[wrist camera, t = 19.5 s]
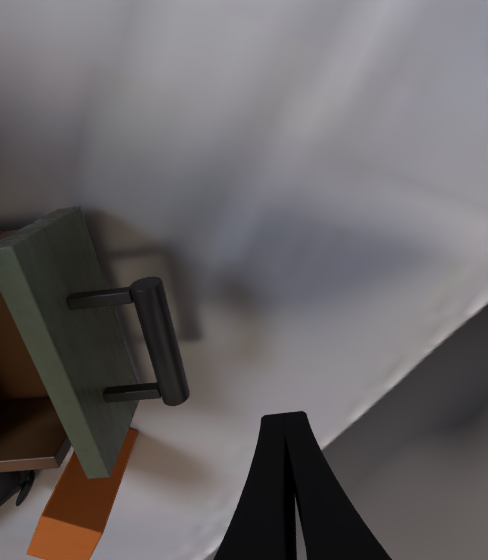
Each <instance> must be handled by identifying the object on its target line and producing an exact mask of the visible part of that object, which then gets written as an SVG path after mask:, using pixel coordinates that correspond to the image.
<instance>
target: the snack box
mask: <svg viewBox="0 0 488 560" xmlns="http://www.w3.org/2000/svg"><path fill="white" fill-rule="evenodd" d="M137 434H138V431H136V430H133V429H130V428H129V429H128V431H127V434H126V437H125V439H124V442H123V445H122V447H121V450H120V452H119V455H118V458H117V460H116V463H115V465H114V468H113V471H112V473H111V476H110V477H108V478H94V479H88V478H87V476H86V474H85V472H84V470H83V468H82V466H81V463H80V461H79V459H78V457H77V455H76V453H75V451H74V452H73V454H72V456H71V458H70V460H69V462H68V464H67V466H66V468H65V470H64V472H63V474H62V476H61V478H60V480H59V482H58V483H57V485H56V487H55V489H54V491H53V493H52V495H51V497H50V499H49V501H48V503H47V505H46V507H45V509H44V511H43V513H42V515H41V517H40V519H39V522H38V525H37V527H36V530H35V532H34V535H33V538H32V540H31V543H30V546H29V548H28V551H27V555H30V556H34V557H37V558H41V559H45V560H89V559H90V557H91V555H92V553H93V551H94V550H95V548H96V546H97V544H98V542H99V540H100V538H101V536H102V534H103V532H104V529H105V526H106V523H107V520H108V517H109V515H110V512H111V509H112V506H113V503H114V500H115V497H116V494H117V492H118V489H119V486H120V483H121V480H122V477H123V474H124V472H125V469H126V466H127V463H128V460H129V457H130V454H131V451H132V449H133V446H134V443H135V440H136V437H137Z"/></svg>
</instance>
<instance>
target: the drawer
mask: <svg viewBox="0 0 488 560" xmlns="http://www.w3.org/2000/svg"><path fill="white" fill-rule="evenodd" d="M133 302H134V304H135V308H136V311H137V315H138V318H139V321H140V325H141V328H142V332H143V335H144V338H145V342H146V345H147V349H148V352H149V355H150V359H151V362H152V366H153V369H154V372H155V376H156V379H157V382H155V383H144V384H138V383H137V380H136V377H135V374H134V371H133V368H132V365H131V362H130V359H129V356H128V352H127V349H126V346H125V343H124V340H123V337H122V334H121V331H120V328H119V325H118V322H117V319H116V315H115V312H114V309H113V306H112V305H122V304H131V303H133ZM189 395H190V391H189V387H188V383H187V379H186V375H185V371H184V367H183V363H182V359H181V355H180V351H179V347H178V343H177V339H176V335H175V331H174V327H173V323H172V319H171V315H170V311H169V307H168V303H167V299H166V295H165V291H164V287H163V283H162V280H161V278H159V277H146V278H142V279H139V280H137V281H135V282H133V283H132V284H131V285H130V287H124V288H115V289H107V288H106V285H105V281H104V278H103V275H102V272H101V269H100V266H99V263H98V260H97V257H96V254H95V251H94V248H93V244H92V241H91V238H90V235H89V232H88V229H87V226H86V223H85V220H84V217H83V214H82V211H81V207H72V208H64V209H58V210H56V211H54V212H52V213H50V214H48V215H46V216H45V217H43V218H41V219H39V220H37V221H35V222H33V223H31V224H30V225H28V226H26V227H24V228H22V229H19V230H11V231H3V232H0V472H10V471H23V470H37V469H50V468H59V467H60V466H61V464H62V462H63V460H64V458H65V456H66V455H67V453H68V451H69V449H70V447H71V445H72V446H73V448H74V451H75V453H76V455H77V457H78V459H79V461H80V463H81V466H82V468H83V470H84V472H85V474H86V476H87V478H88V479H94V478H108V477H110V476H111V473H112V471H113V468H114V465H115V463H116V460H117V458H118V455H119V452H120V450H121V447H122V445H123V442H124V439H125V437H126V434H127V431H128V429H129V426H130V424H131V421H132V418H133V416H134V413H135V410H136V408H137V405H138V403H139V400H145V399H156V398H161V396H162V400H163V402H164V403H165V404H166V405H169V406H176V405H180V404H182V403H183V402H185V401H186V400H187V399H188V397H189Z"/></svg>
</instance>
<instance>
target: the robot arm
mask: <svg viewBox="0 0 488 560" xmlns="http://www.w3.org/2000/svg"><path fill="white" fill-rule="evenodd" d="M295 497H296V502H297V507H298V512H299V517H300V522H301V527H302V532H303V537H304V541H305V546H306V553H307V560H392V559H391V558H390V557H389V555H388V554H387V553H386V551H385V550H384V549H383V547H382V546H381V545H380V543H379V542H378V541H377V539H376V538H375V537H374V535H373V534H372V532H371V531H370V530H369V528H368V527H367V525H366V524H365V523H364V521H363V520H362V518H361V517H360V515H359V514H358V513H357V511H356V509H355V508H354V506H353V505H352V503H351V502H350V500H349V499H348V497H347V496H346V494H345V492H344V491H343V489H342V487H341V486H340V484H339V482H338V481H337V479H336V477H335V476H334V474H333V472H332V470H331V468H330V466H329V465H328V463H327V461H326V459H325V457H324V456H323V454H322V452H321V450H320V447H319V445H318V443H317V441H316V439H315V437H314V434H313V432H312V429H311V427H310V424H309V421H308V418H307V414H306V413H305V412H303V411H299V412H289V413H280V414H271V415H264V416H263V417H262V418H261V426H260V432H259V437H258V441H257V446H256V450H255V454H254V457H253V461H252V464H251V467H250V471H249V474H248V477H247V480H246V483H245V486H244V489H243V491H242V494H241V497H240V500H239V502H238V505H237V508H236V510H235V513H234V515H233V518H232V520H231V523H230V525H229V527H228V530H227V532H226V534H225V536H224V539H223V541H222V543H221V545H220V547H219V549H218V551H217V553H216V555H215V557H214V560H297V552H296V521H295Z"/></svg>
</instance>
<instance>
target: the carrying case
mask: <svg viewBox="0 0 488 560" xmlns="http://www.w3.org/2000/svg"><path fill="white" fill-rule="evenodd" d="M34 479H35V473H34V470H23V471H10V472H0V506H1V505H3V504H4V503H5V502H6V501H7V500H8V499H10V498H11V497H12V496H13V495H14V494H15V493H17V492H18V491H19V490H20V489H21V491H20V493H19V495H18V498H17V500H16V506H19V505H20V504H21V503H22V502H23V501H24V499H25V498H26V496H27V495H28V493H29V491H30V489H31V487H32V485H33V483H34Z"/></svg>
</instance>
